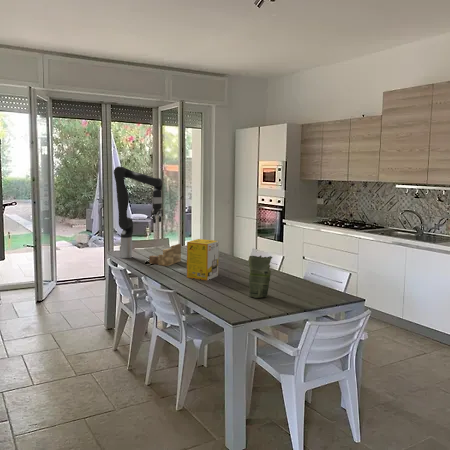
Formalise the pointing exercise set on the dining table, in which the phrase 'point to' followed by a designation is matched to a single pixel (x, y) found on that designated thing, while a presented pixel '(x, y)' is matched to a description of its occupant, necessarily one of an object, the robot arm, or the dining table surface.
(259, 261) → the green vase
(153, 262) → the brown rectangular block
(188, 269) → the packaging box
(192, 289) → the dining table surface
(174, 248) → the light wood notched block
